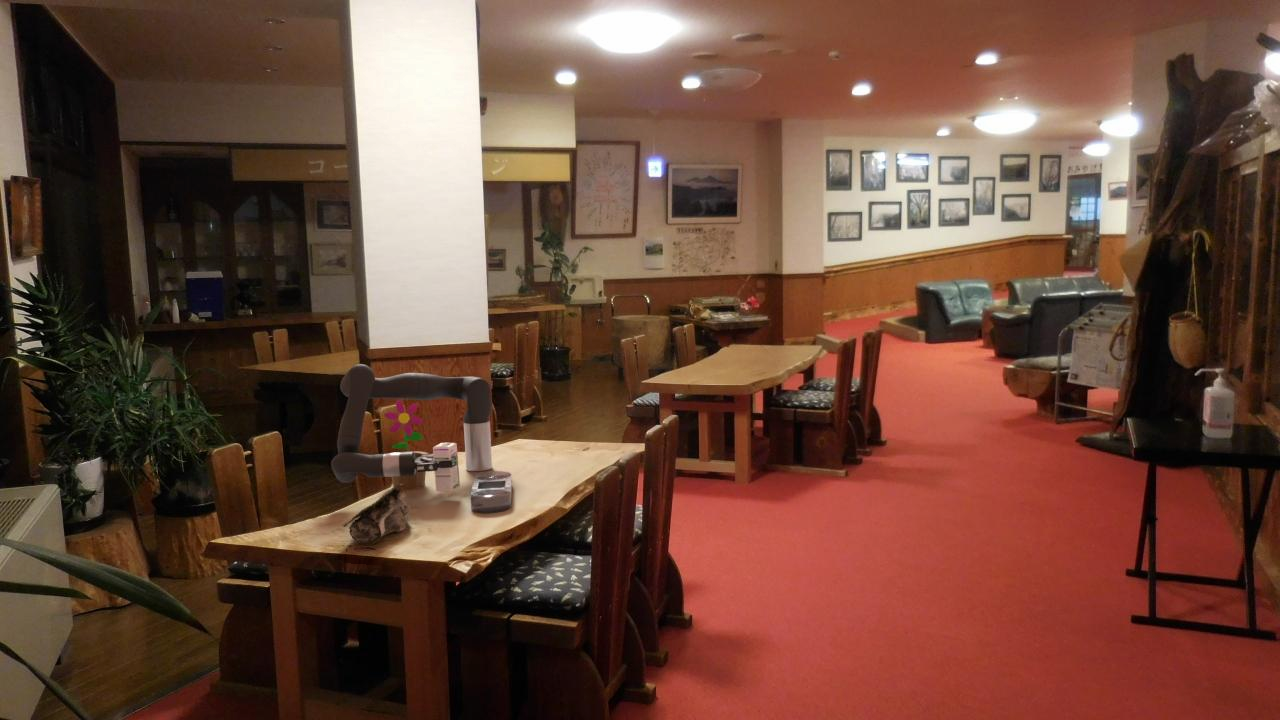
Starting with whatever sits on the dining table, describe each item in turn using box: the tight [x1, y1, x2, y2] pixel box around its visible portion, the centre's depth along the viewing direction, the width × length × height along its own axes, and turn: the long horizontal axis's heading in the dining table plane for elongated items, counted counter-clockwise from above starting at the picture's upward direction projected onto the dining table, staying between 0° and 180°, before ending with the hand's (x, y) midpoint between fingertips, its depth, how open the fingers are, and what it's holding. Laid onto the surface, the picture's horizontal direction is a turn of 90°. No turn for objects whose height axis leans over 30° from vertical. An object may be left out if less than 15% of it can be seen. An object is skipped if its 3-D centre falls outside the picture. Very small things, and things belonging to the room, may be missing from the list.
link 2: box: [469, 485, 513, 514], centre depth 280 cm, size 24×12×4 cm, turn 7°
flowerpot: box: [384, 399, 429, 491], centre depth 302 cm, size 14×14×30 cm
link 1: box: [471, 470, 513, 491], centre depth 292 cm, size 24×12×4 cm, turn 7°
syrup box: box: [432, 442, 461, 493], centre depth 284 cm, size 6×6×14 cm
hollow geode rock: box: [342, 483, 413, 546], centre depth 250 cm, size 28×13×15 cm
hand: (453, 460), depth 284 cm, fingers closed on syrup box, 7 cm apart
